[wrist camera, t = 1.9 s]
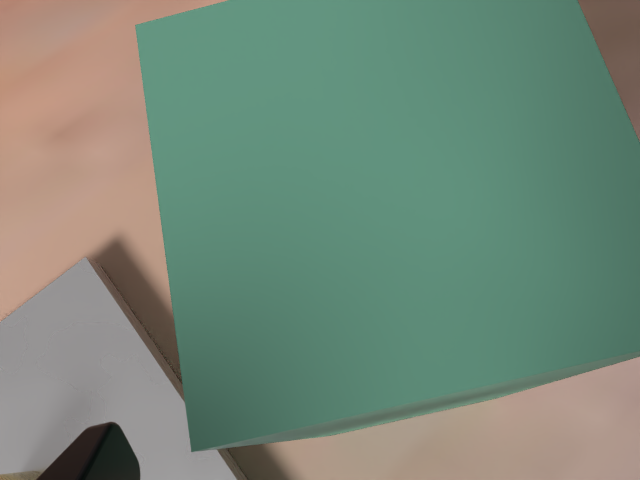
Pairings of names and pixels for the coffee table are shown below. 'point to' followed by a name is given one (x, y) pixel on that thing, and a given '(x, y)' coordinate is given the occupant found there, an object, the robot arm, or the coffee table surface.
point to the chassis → (92, 384)
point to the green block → (387, 208)
